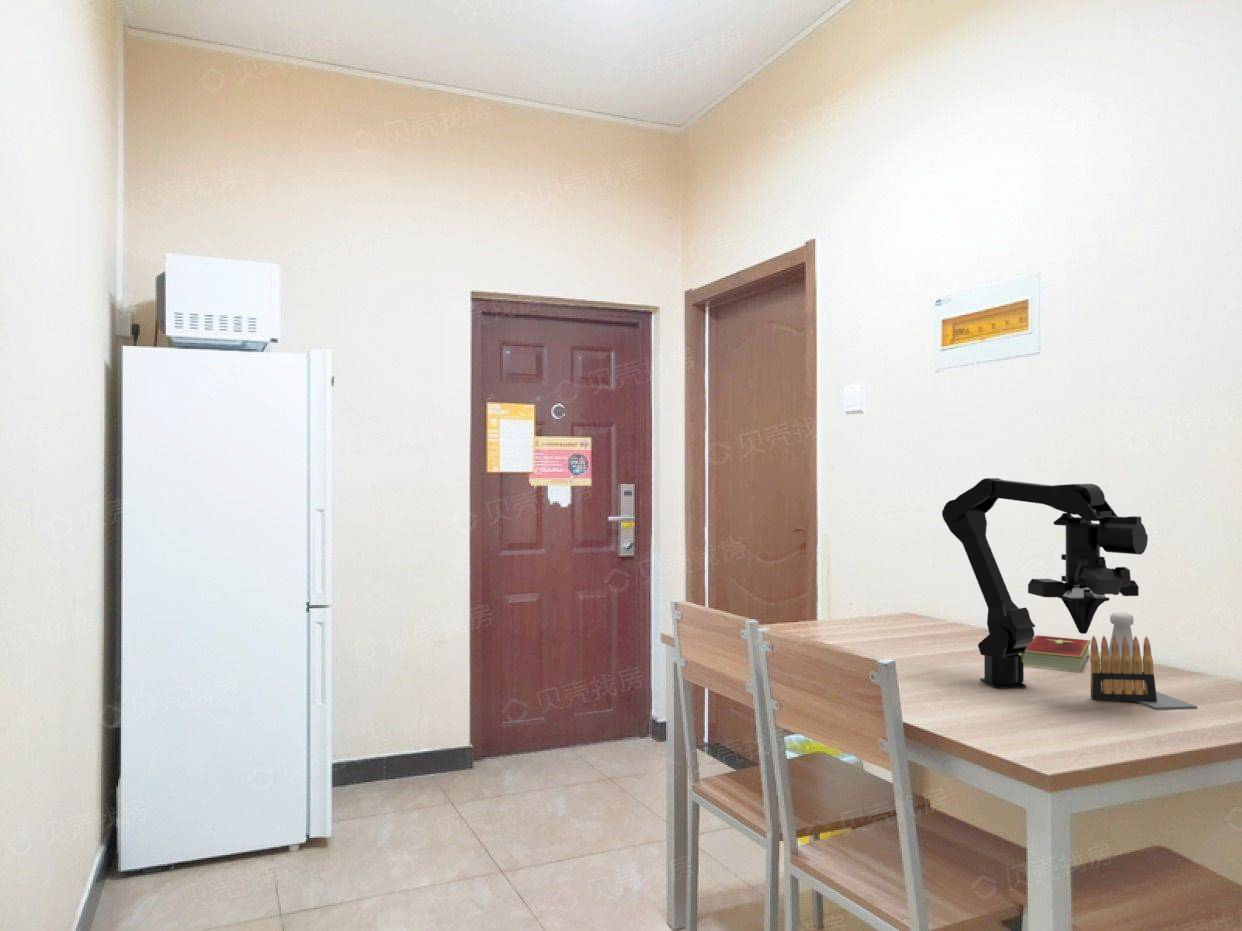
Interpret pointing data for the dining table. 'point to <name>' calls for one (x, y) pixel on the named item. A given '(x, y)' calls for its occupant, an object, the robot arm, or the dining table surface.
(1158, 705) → the mat
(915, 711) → the dining table surface
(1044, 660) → the hardcover book
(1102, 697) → the ammunition clip
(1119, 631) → the salt shaker
